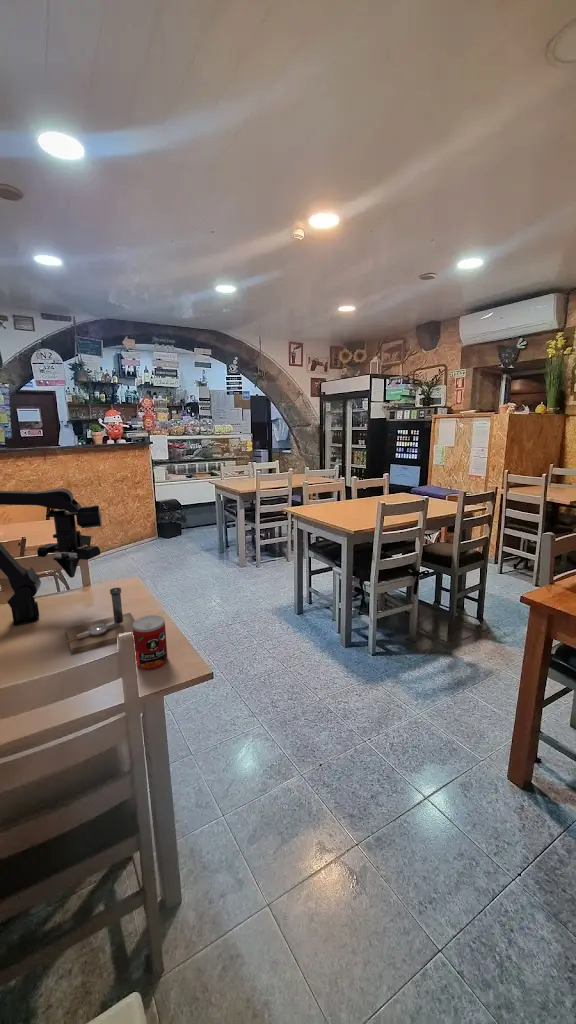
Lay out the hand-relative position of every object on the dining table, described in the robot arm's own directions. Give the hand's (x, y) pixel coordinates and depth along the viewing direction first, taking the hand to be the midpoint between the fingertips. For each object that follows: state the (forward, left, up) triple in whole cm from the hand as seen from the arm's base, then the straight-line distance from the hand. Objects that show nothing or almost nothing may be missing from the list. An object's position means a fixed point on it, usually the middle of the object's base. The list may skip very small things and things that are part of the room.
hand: (72, 577), depth 132 cm
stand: (+5, -20, -12) cm, 24 cm away
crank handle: (+5, -22, -10) cm, 24 cm away
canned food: (+13, -43, -12) cm, 47 cm away
